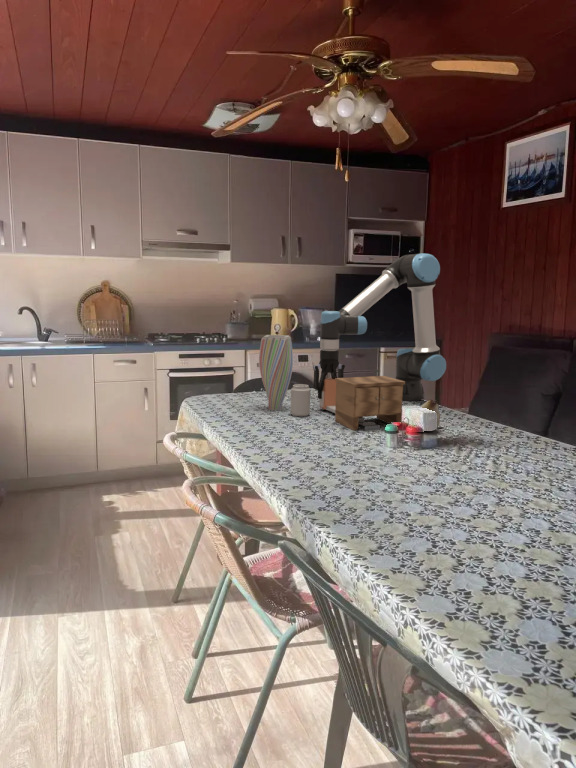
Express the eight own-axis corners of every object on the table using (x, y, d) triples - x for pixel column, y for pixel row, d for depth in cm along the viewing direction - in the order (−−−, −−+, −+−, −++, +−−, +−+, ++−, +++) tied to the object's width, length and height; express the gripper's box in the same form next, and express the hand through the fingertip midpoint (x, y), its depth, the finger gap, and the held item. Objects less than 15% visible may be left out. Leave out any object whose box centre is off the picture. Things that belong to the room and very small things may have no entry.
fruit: (437, 435, 201) (440, 401, 200) (410, 433, 204) (412, 399, 202) (440, 429, 211) (442, 396, 209) (413, 426, 214) (415, 394, 212)
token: (371, 427, 214) (371, 421, 214) (379, 430, 209) (380, 425, 208) (356, 428, 212) (357, 422, 212) (364, 432, 206) (364, 426, 206)
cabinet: (382, 417, 228) (383, 375, 225) (404, 426, 214) (406, 382, 211) (333, 421, 220) (335, 378, 217) (353, 431, 206) (355, 384, 203)
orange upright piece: (319, 407, 241) (320, 378, 239) (330, 406, 243) (331, 377, 241) (353, 422, 215) (354, 390, 213) (365, 421, 217) (366, 389, 215)
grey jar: (309, 417, 226) (310, 386, 224) (290, 416, 227) (291, 386, 225) (309, 413, 234) (310, 383, 232) (290, 412, 234) (291, 383, 232)
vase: (289, 413, 233) (290, 337, 229) (255, 411, 236) (256, 336, 231) (294, 406, 247) (295, 335, 242) (262, 404, 249) (263, 334, 244)
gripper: (344, 348, 243) (343, 403, 247) (305, 349, 236) (304, 405, 240) (353, 350, 236) (351, 406, 240) (312, 351, 229) (311, 409, 233)
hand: (327, 406), depth 240 cm, fingers closed on orange upright piece, 5 cm apart
